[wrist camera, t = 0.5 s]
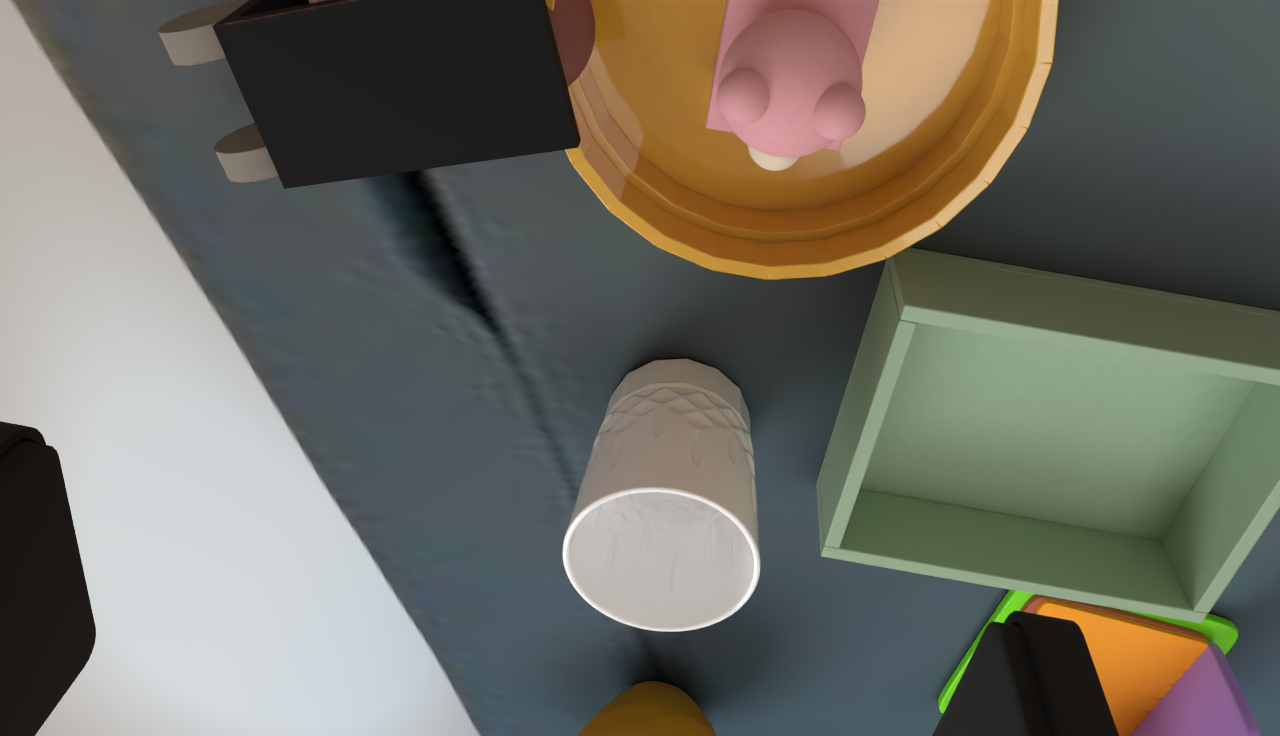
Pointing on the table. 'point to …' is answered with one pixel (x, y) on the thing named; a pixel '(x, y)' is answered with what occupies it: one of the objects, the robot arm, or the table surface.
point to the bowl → (827, 179)
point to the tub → (1055, 436)
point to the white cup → (668, 502)
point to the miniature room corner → (1147, 667)
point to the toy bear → (790, 75)
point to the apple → (650, 714)
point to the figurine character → (389, 82)
